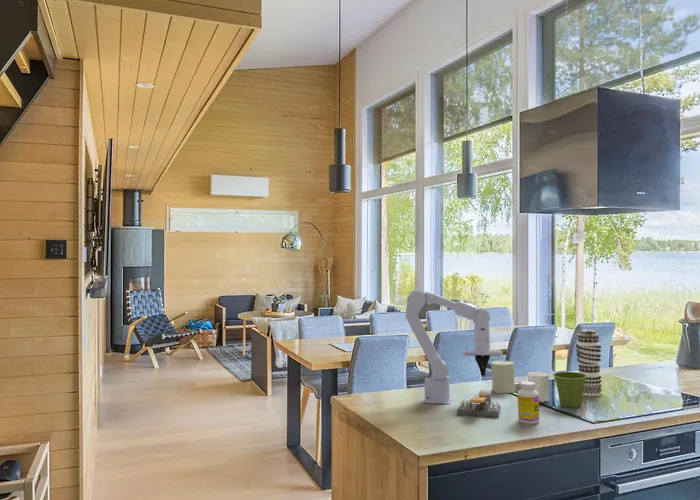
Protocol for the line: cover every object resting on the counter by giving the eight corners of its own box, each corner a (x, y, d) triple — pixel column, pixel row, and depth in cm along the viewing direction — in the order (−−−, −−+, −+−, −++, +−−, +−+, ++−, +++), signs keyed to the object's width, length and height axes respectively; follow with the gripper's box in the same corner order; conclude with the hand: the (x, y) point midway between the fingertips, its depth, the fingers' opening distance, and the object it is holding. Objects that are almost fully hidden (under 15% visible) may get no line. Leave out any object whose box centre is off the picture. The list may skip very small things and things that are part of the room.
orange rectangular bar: (470, 404, 194) (470, 399, 194) (475, 401, 209) (475, 396, 209) (482, 404, 193) (482, 400, 193) (486, 401, 207) (486, 397, 208)
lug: (479, 407, 207) (478, 392, 207) (480, 404, 212) (480, 389, 212) (490, 408, 206) (490, 393, 206) (491, 405, 210) (491, 390, 210)
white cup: (551, 403, 211) (550, 376, 212) (529, 402, 213) (528, 375, 213) (548, 397, 219) (547, 372, 219) (527, 397, 221) (526, 371, 221)
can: (518, 389, 234) (516, 360, 234) (511, 394, 226) (510, 364, 227) (496, 387, 239) (495, 358, 239) (488, 392, 231) (487, 362, 232)
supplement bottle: (536, 425, 184) (535, 385, 184) (516, 423, 188) (514, 384, 188) (541, 420, 190) (540, 381, 190) (521, 417, 193) (520, 380, 193)
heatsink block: (457, 415, 198) (457, 404, 198) (461, 408, 208) (460, 397, 208) (498, 417, 194) (498, 406, 194) (500, 410, 203) (500, 399, 203)
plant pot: (548, 406, 206) (547, 375, 207) (561, 400, 215) (560, 370, 215) (581, 411, 198) (579, 379, 199) (593, 404, 207) (592, 374, 207)
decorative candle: (590, 397, 218) (588, 332, 218) (572, 392, 226) (570, 329, 227) (608, 394, 222) (605, 330, 222) (589, 389, 230) (587, 328, 231)
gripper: (461, 340, 216) (462, 376, 216) (500, 341, 211) (501, 378, 211) (463, 338, 222) (465, 372, 222) (502, 338, 218) (503, 374, 218)
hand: (483, 375), depth 217 cm, fingers closed
